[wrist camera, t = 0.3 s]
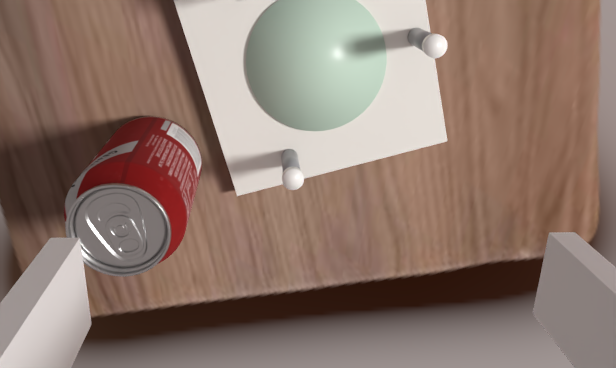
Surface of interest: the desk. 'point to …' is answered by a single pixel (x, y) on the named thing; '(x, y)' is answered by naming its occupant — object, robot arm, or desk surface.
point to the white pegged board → (314, 83)
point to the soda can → (135, 197)
